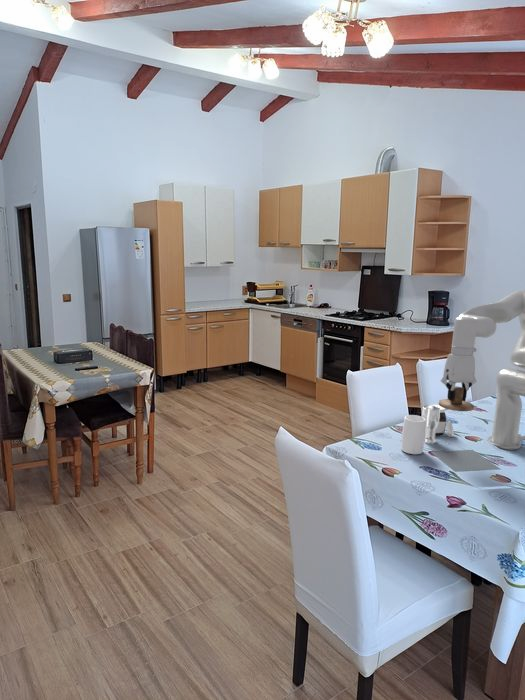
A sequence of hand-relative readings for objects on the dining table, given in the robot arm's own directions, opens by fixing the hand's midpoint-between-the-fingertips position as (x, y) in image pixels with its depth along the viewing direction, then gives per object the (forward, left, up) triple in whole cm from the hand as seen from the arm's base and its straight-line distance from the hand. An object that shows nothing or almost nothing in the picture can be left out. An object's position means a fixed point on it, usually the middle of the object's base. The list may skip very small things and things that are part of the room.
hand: (456, 399), depth 190 cm
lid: (0, 0, -2) cm, 2 cm away
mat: (-4, +2, -24) cm, 24 cm away
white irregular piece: (-10, -27, -24) cm, 37 cm away
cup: (+12, -8, -24) cm, 28 cm away
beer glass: (0, -18, -24) cm, 30 cm away
